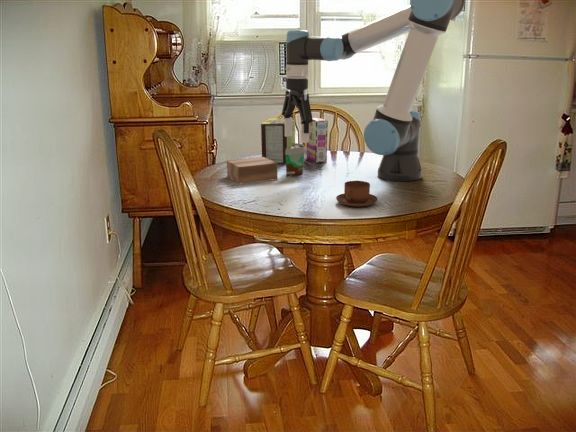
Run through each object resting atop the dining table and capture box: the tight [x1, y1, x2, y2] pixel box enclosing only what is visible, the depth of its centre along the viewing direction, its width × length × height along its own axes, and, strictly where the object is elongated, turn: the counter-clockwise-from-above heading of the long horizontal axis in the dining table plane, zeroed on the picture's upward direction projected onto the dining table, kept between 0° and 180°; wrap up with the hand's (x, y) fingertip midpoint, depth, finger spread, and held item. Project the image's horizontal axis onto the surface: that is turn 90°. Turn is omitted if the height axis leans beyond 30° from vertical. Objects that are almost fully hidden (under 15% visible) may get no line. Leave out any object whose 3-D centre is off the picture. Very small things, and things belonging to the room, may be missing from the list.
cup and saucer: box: [335, 180, 378, 208], centre depth 167 cm, size 12×12×6 cm
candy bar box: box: [306, 117, 329, 164], centre depth 226 cm, size 11×5×16 cm, turn 17°
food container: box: [285, 142, 307, 177], centre depth 204 cm, size 12×6×10 cm, turn 168°
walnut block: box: [226, 156, 278, 185], centre depth 199 cm, size 12×14×6 cm
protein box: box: [260, 117, 296, 165], centre depth 228 cm, size 10×15×16 cm
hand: (296, 139), depth 202 cm, fingers open, 13 cm apart
